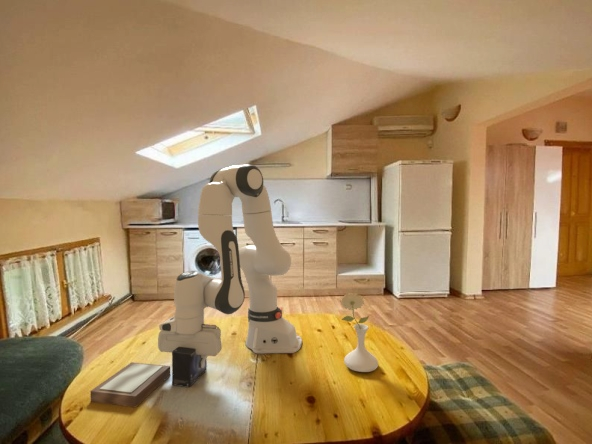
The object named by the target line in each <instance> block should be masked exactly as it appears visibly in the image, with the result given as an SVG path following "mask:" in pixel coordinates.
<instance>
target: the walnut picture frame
mask: <svg viewBox="0 0 592 444" xmlns="http://www.w3.org/2000/svg"><path fill="white" fill-rule="evenodd" d="M170 376H171V366H170V365H161V364H152V363H142V362H141V363H140V362H132V361H131V362H130V363H128V364H127V365H126V366H124V367H122V368H121V369H120V370H118V371H117V372H115V373H114V374H113V375H111V376H110V377H108V378H107V379H105V380H104V381H103V382H101V383H100V384H98V385H97V386H96V387H94V388H93V389H91V390H90V391H89V392H90V402H91V403H98V404H99V403H100V404H107V405H115V406H124V407H130V408H136V407H138V406H139V405H140V404H141V403H142V402H143V401H144V400H145V399H146V398H147V397H149V396H150V394H152V393H153V392H154V391H155V390H156V389H157V388H158V387H160V386H161V384H162V383H164V382H165V381H166V380H167V379H168V378H169V377H170Z"/></svg>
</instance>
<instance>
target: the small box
mask: <svg viewBox="0 0 592 444" xmlns="http://www.w3.org/2000/svg"><path fill="white" fill-rule="evenodd" d="M202 359H203V358H201V355H197V354H196V349H194V348H187V347H178V348H176V349H175V350H173V351H172V352H171V368H172V369H171V374H172V377H171V385H173V386H178V387H179V386H180V387H186V388H190V387H191V386H192V385H193V384H194V383H195V382H196V381H197V380H199V378H200V377H201V376H202V375H203V374H204V373H205V372H206V371H207V367H208V365H207V359H206V360H205V367H204V368H198V363H199V362H200V361H201V360H202Z"/></svg>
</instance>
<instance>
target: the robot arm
mask: <svg viewBox="0 0 592 444" xmlns="http://www.w3.org/2000/svg"><path fill="white" fill-rule="evenodd" d="M235 198H239V199H240V202H241V209H242V211H241V212H242V217H243V218H242V219H243V226H244V233H245V234H246V236H247V237H249V238H250V240H251V241H252V243H253V244H249V245H245V246H242V247H240V248H239V242H238V241H239V240H238V238H237V235H236V234H235V231H234V226H233V202H234V199H235ZM271 206H272V205H271V202H270V197H269V193H268V190H267V188H266V186H265V185H264V176H263V173H262V171H261V170H260V168H259V167H257V166H255V165H253V164H245V163H244V164H239V165H238V164H237V165H231V166H229V167H224V168H223V167H222V168H220V169H218V170H215V172H213V173H212V174H211V177H210V178H209V183H207V184H204V185H203V187H202V189H201V192H200V197H199V203H198V216H197V217H198V218H197V226H198V231H199V234H200V236H202V238H203V239H205V241H207V242H209V244H211V246H213V247H214V248H215V249H216V251H217V253H218V255H219V258H220V259H219V260H220V261H219V262H220V271H221V273H220V275H221V278H219V277H214V276H210V275H206V274H204V273H202V272H201V271H200V270H188V271H185V272H183V273H181V274H179V275H178V276H177V277H176V279H175V283H174V287H173V288H174V289H173V290H174V291H173V303H174V306H175V310H174V316H172V317H169V318H168V319H166V320H165V321H163V322H161V323H160V324H159V330H160V331H159V333H158V336H157V348H158V350H159V351H160V352H162V353H172V351H173V350H175V349H176V348H178V347H187V348H194V349H196V354H197V355H201V358H203V359H202V360H201V361H200V362H199V363H198V368H204V367H205V360H206V361H207V359H208V357H209V356H210V357H216V356H218V355H219V353H220V352H221V351H222V347H223V346H222V338H221V335H222V333H221V328H219V326H217V325H216V324H207V323H205V308H210V309H214V310H217V311H219V312H221V313H222V314H225V315H232V314H234V313H236V312H237V311H238V310H240V308H241V307H242V305H243V304H244V301H245V297H246V293H245V287H244V285H243V280H242V273H243V275H244V277H245V280H246V284H247V288H248V301H249V303H248V304H249V305H248V306H249V307H248V311H247V319H248V328H247V337H246V340H245V346H246V347H247V348H248V349H250V350H252V352H253V353H254V354H294V353H296V352H298V351H299V350H300V348H301V347H302V344H303V340H302V339H303V338H302V337H301V336H300V335H298V334H297V332H296V331H297V330H296V328H295V326H294V324H292V323H291V322H290V321H288V320H287V319H286V318H285V317H283V308H282V307H281V308H279V307H278V289H277V286H276V285H275V284H274V282H273V281H272V280H271V277H270V276H273V277H274V276H276V277H277V276H284V275H286V274H287V273H288V272H289V270H290V268H291V265H292V257H291V254H290V253H289V251H287V249H285V248H284V246H283V245H282V244H281V242H280V241H279V238H278V237H277V233H276V231H275V228H274V222H273V215H272V208H271ZM241 271H242V273H241Z"/></svg>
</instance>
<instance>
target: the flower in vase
mask: <svg viewBox="0 0 592 444" xmlns="http://www.w3.org/2000/svg"><path fill="white" fill-rule="evenodd" d="M364 301H365V300H364V299H363V297H362V295H358V293H357V292H356V293H355V292H352V293H350V292H349V293H347V294H344V296H342V297H341V300H340V303H341V304H340V305H341V306H342V307H343V309H348V310H350V311H351V310H352V316H353V317H352V316H350V315H345V316H344V317H342V319H341V321H345V322H352V321H353V320H354V321H355V323H356V324H354V325H353V329H354V330H355V331H356V335H357V345H356V348H355V349H353V350H352V351H350V352H349V353H348V354H346V355H345V356H344V358H343V359H344V360H343V363H344V364H345V365H346V367H347V368H348V369H350V370H351V371H355V372H359V373H370V372H373V371H375V370H376V369H377V368H379V361H378V359H377V357H376V356H375V355H373V354H372V353H371V352H370V351H369V350H367V348H366V347H365V346H366V344H365V338H366V333H367V331H368V330H369V329H370V327H369V326H368V325H367V324H364V323H365V322H367V321H368V319H369V317H370V316H369V315H367V316H365V317H361V318H359V320H358V321H357V319H356V318H355V313H354V312H355V310H358V309H361V308H362V306H364V304H365V302H364Z"/></svg>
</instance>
